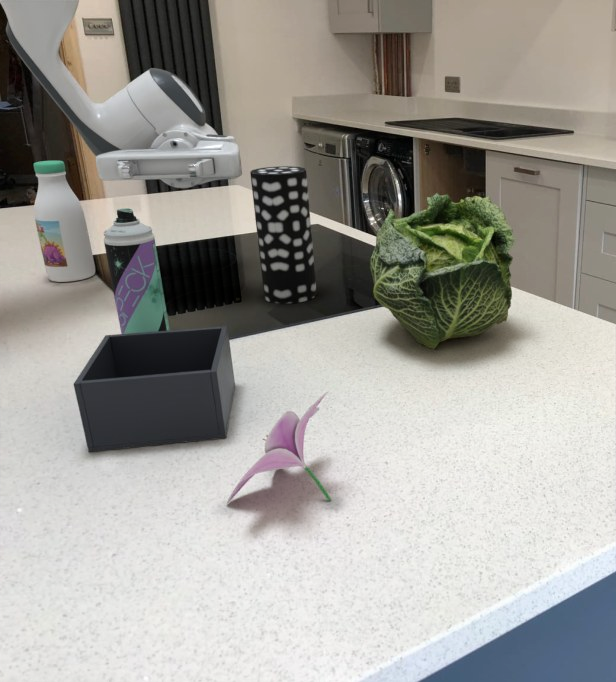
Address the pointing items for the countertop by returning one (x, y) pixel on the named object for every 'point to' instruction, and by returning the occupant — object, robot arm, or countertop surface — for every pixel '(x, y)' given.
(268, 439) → the lily
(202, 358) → the bin
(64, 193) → the milk bottle
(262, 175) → the spotted tube
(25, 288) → the countertop surface
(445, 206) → the vegetable
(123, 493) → the countertop surface
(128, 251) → the spray can
